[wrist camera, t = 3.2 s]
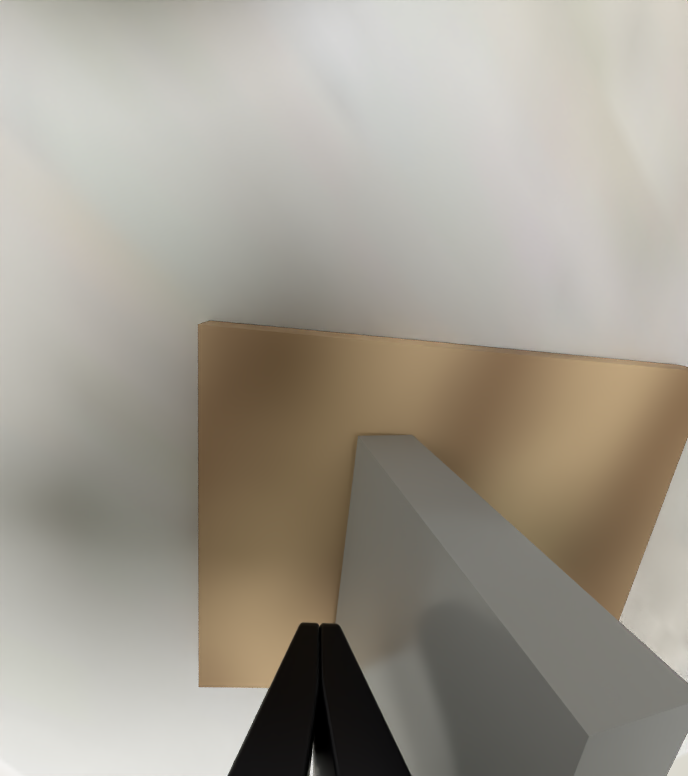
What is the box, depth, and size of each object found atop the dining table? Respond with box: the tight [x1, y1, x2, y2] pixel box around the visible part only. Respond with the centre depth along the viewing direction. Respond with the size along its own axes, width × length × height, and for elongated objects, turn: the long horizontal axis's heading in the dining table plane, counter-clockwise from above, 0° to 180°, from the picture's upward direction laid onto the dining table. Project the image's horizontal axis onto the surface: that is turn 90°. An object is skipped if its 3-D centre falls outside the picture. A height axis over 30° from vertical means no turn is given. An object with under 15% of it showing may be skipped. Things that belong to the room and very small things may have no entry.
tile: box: [335, 435, 688, 776], centre depth 8 cm, size 2×7×7 cm, turn 174°
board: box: [198, 321, 688, 688], centre depth 12 cm, size 14×12×1 cm
